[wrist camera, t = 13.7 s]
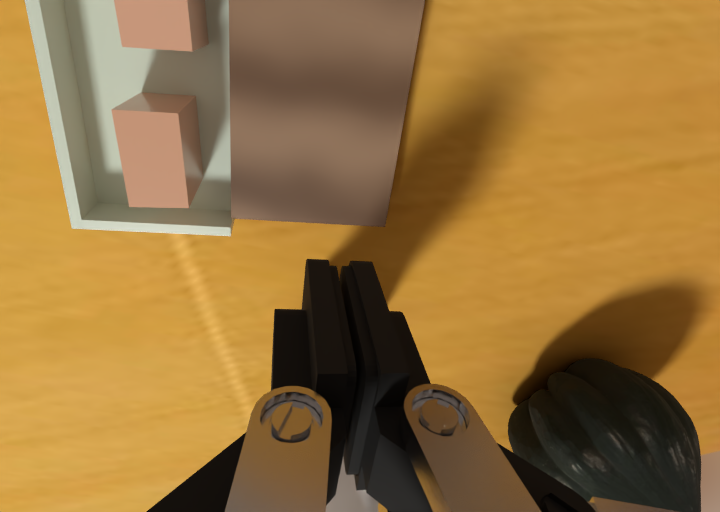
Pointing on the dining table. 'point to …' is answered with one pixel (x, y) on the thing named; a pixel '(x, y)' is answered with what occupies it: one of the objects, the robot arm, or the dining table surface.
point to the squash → (611, 437)
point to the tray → (113, 87)
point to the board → (318, 106)
